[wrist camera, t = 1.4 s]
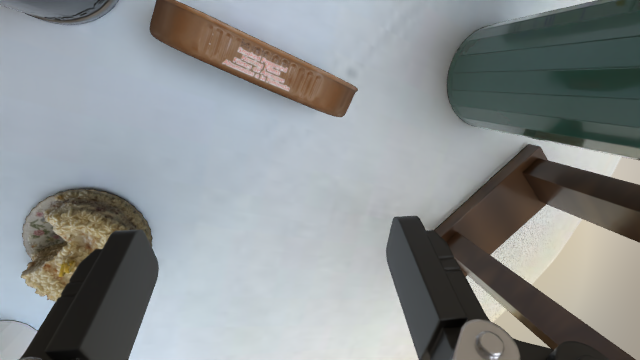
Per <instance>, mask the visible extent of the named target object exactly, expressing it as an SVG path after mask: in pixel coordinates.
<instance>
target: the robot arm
mask: <svg viewBox="0 0 640 360" xmlns="http://www.w3.org/2000/svg"><path fill="white" fill-rule="evenodd" d="M117 2H118V0H0V5H1V6H4V7H8V8H11V9H14V10H17V11H20V12H23V13H25V14H28V15H30V16H33V17H35V18H38V19H42V20H45V21H49V22H52V23H58V24H67V25H69V24H82V23H87V22H90V21H93V20H96V19H98V18H100V17H102V16H103V15H105V14H106V13H107V12H109V11H110V10H111V9H112V8H113V7H114V6H115V4H116V3H117ZM386 256H387V262H388V266H389V269H390V272H391V275H392V278H393V282H394V285H395V288H396V291H397V294H398V297H399V300H400V303H401V306H402V309H403V312H404V315H405V318H406V322H407V325H408V328H409V331H410V334H411V337H412V340H413V343H414V346H415V349H416V352H417V355H418V358H419V360H609V359H608V358H607V357H605V356H604V355H603V354H602V353H600V352H599V351H598V350H596V349H594V348H593V347H591V346H588V345H586V344H584V343H581V342H576V341H566V342H563V343H561V344H560V345H559V346H558V347H557V348H556V349H550V348H546V347H542V346H538V345H534V344H530V343H526V342H522V341H518V340H516V339H513V338H512V337H511V336H510V335H509V334H508V333H507V332H506V331H505V330H504V329H502V328H501V327H500V326H498V325H496V324H494V323H493V322H491V321H490V320H489V319H488V317H487V316H486V314H485V313H484V311H483V309H482V307H481V305H480V303H479V301H478V300H477V298H476V296H475V294H474V292H473V290H472V288H471V287H470V285H469V283H468V281H467V279H466V277H465V275H464V274H463V272H462V270H460V266H459V264H458V262H457V261H456V259H454V255H453V253H452V251H451V249H450V248H449V246H448V244H447V242H446V241H445V240H444V239H443V238H442V237H440V236H439V235H438V234H437V233H436V232H435V231H426V230H425V228H424V226H423V224H422V222H421V220H420V218H419V217H418V216H403V217H394V218H393V221H392V225H391V230H390V234H389V238H388V243H387V248H386ZM158 269H159V268H158V261H157V258H156V256H155V254H154V251H153V249H152V247H151V245H150V243H149V240H148V238H147V236H146V234H145V232H144V231H143V230H123V231H114V232H113V233H112V234H111V235H110V236H109V238H108V240H107V242H106V243H105V245H104V247H103V249H95V250H94V251H93V252H92V253H90V254H89V255H88V256H87V257H86V258H85V259H84V260H83V261H82V262H81V263H79V265H78V267H77V268H76V270H75V271H74V273H73V275H72V276H71V278H70V280H69V283H67V284H66V286H65V288H64V289H63V291H62V293H61V297H58V299H57V301H56V302H55V304H54V306H53V307H52V309H51V311H50V312H49V314H48V315H47V317H46V319H45V320H44V322H43V324H42V325H41V327H40V328H39V330H38V332H37V333H36V335H35V337H34V338H33V340H32V341H31V343H30V345H29V346H28V348H27V350H26V351H25V353H24V354H23V355H22V357H21V358H20V359H18V360H128V359H129V356H130V353H131V350H132V348H133V345H134V342H135V339H136V336H137V334H138V331H139V328H140V325H141V323H142V320H143V317H144V314H145V311H146V309H147V306H148V303H149V300H150V298H151V295H152V292H153V289H154V286H155V284H156V281H157V277H158Z"/></svg>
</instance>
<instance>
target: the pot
mask: <svg viewBox="0 0 640 360" xmlns="http://www.w3.org/2000/svg"><path fill="white" fill-rule="evenodd" d="M447 92H448V97H449V101H450V104H451V106H452V108H453V110H454V112H455V113H456V114H457V116H458V117H459V118H460V119H461V120H463V121H464V122H466V123H467V124H469V125H472V126H476V127H480V128H484V129H489V130H494V131H499V132H503V133H508V134H513V135H518V136H523V137H528V138H533V139H538V140H543V141H548V142H553V143H557V144H562V145H567V146H572V147H577V148H582V149H587V150H592V151H597V152H602V153H607V154H612V155H616V156H621V157H626V158H631V159H636V160H640V0H597V1H592V2H588V3H583V4H579V5H575V6H570V7H566V8H561V9H557V10H552V11H548V12H544V13H539V14H535V15H530V16H526V17H522V18H517V19H513V20H508V21H504V22H499V23H495V24H493V25H489V26H486V27H483V28H481V29H479V30H477V31H475V32H474V33H473V34H471V35H470V36H469V37H468V38H467V39H466V40H465V41H464V42H463V43H462V44H461V46H460V47H459V49H458V50H457V52H456V53H455V55H454V57H453V60H452V62H451V65H450V68H449V72H448V78H447Z"/></svg>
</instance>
